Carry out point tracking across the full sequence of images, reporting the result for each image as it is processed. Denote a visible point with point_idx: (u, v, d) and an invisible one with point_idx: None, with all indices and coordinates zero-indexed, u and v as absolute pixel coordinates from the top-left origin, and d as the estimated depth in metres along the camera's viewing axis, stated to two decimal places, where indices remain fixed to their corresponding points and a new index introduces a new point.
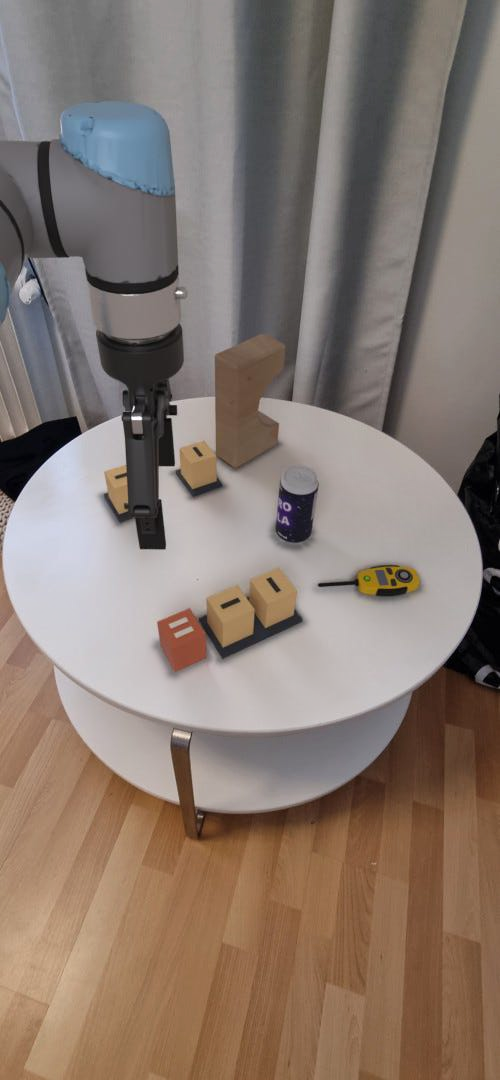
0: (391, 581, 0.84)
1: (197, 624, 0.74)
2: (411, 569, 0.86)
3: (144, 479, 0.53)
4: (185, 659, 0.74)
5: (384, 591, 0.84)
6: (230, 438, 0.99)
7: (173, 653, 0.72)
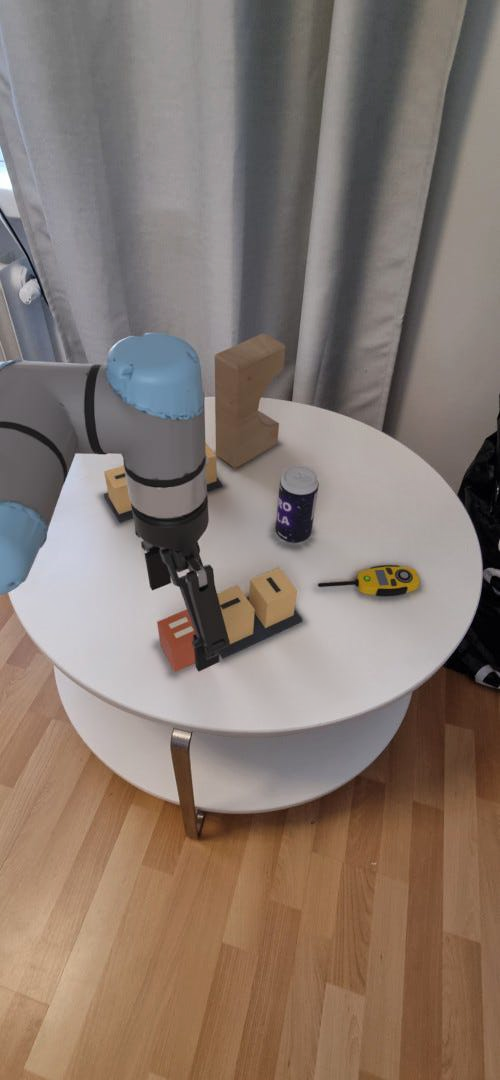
0: (391, 581, 0.84)
1: None
2: (411, 569, 0.86)
3: (215, 619, 0.60)
4: (185, 659, 0.74)
5: (384, 591, 0.84)
6: (230, 438, 0.99)
7: (173, 653, 0.72)
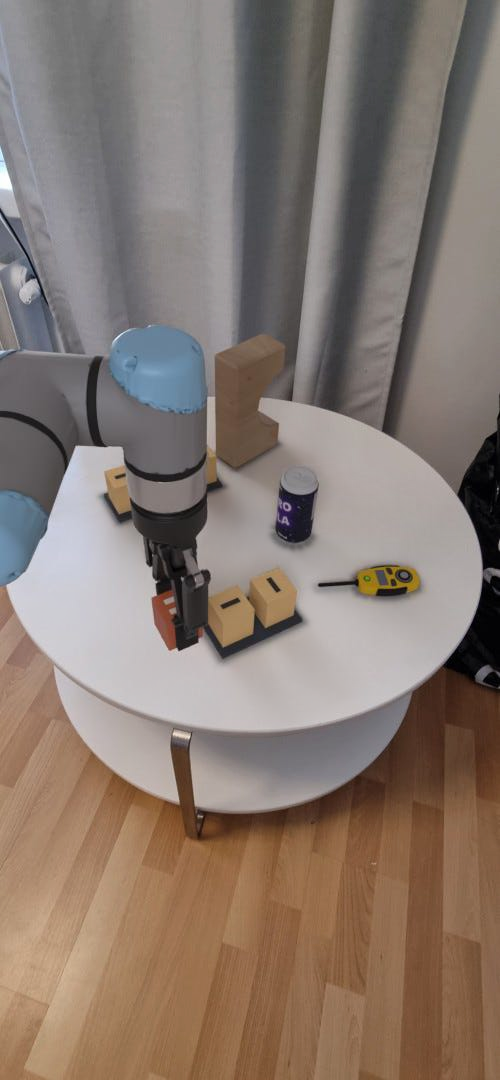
0: (391, 581, 0.84)
1: None
2: (411, 569, 0.86)
3: (201, 609, 0.62)
4: None
5: (384, 591, 0.84)
6: (230, 438, 0.99)
7: (168, 630, 0.68)
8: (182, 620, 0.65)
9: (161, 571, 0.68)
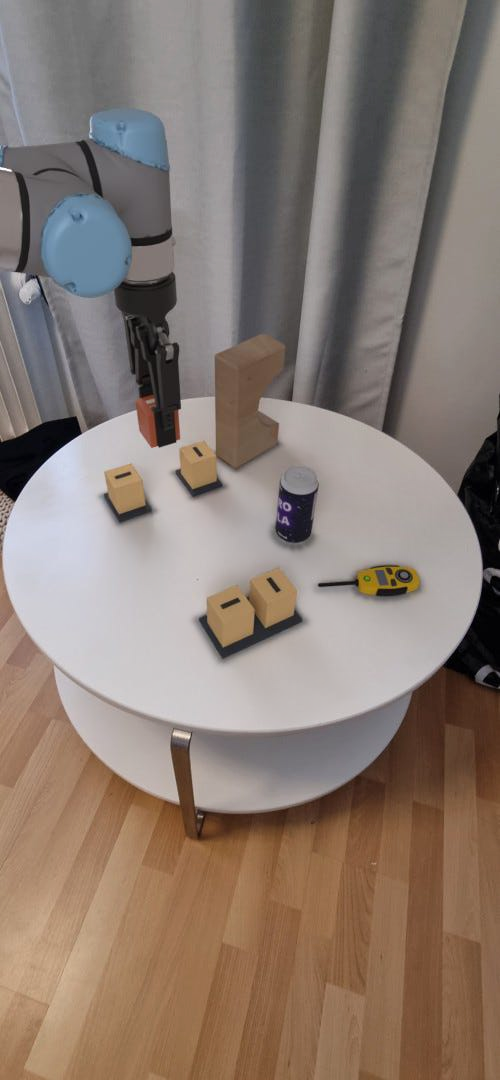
0: (391, 581, 0.84)
1: None
2: (411, 569, 0.86)
3: (174, 388, 0.75)
4: None
5: (384, 591, 0.84)
6: (230, 438, 0.99)
7: (149, 422, 0.81)
8: (159, 405, 0.78)
9: (142, 372, 0.81)
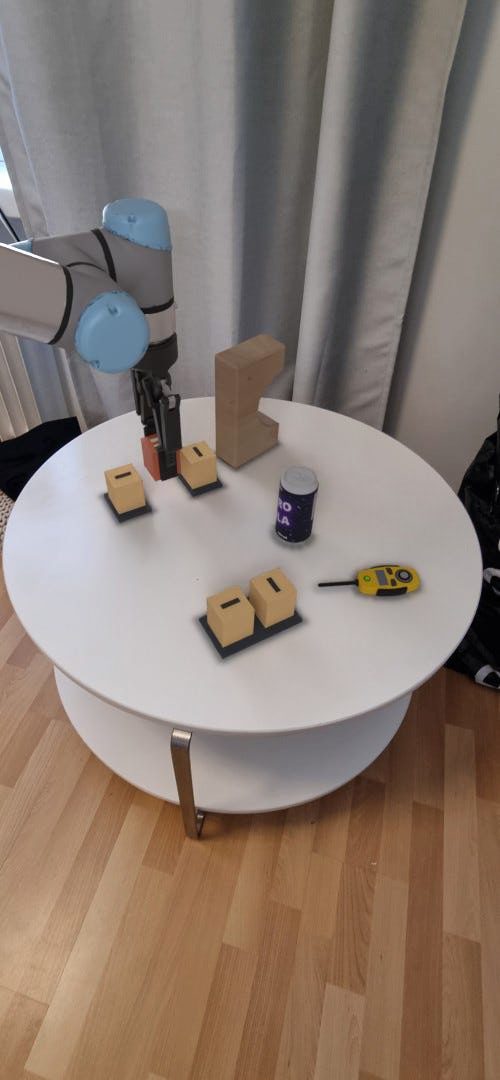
0: (391, 581, 0.84)
1: None
2: (411, 569, 0.86)
3: (175, 431, 0.84)
4: None
5: (384, 591, 0.84)
6: (230, 438, 0.99)
7: (153, 459, 0.90)
8: (162, 446, 0.87)
9: (147, 415, 0.90)
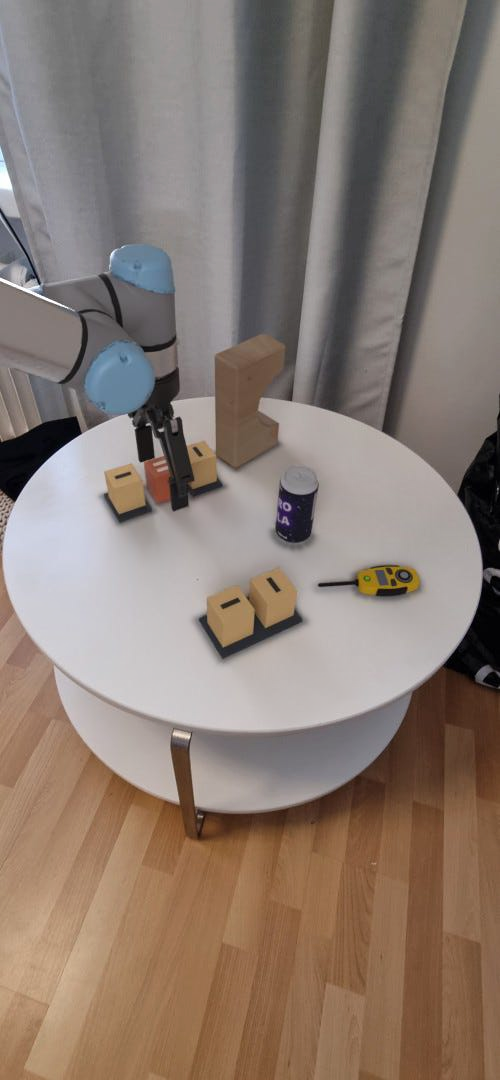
0: (391, 581, 0.84)
1: None
2: (411, 569, 0.86)
3: (184, 459, 0.84)
4: (165, 492, 0.96)
5: (384, 591, 0.84)
6: (230, 438, 0.99)
7: (156, 483, 0.93)
8: (174, 476, 0.86)
9: (140, 422, 0.94)
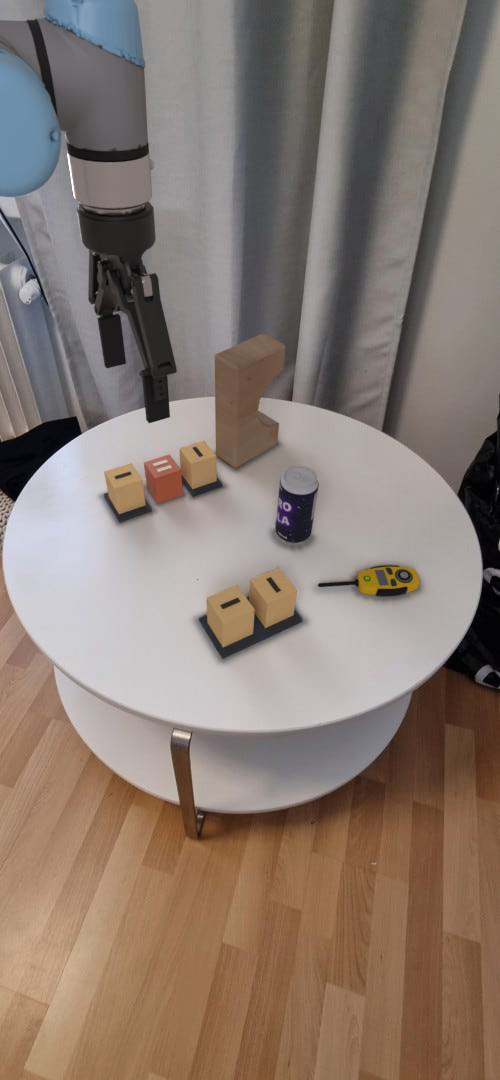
0: (391, 581, 0.84)
1: (175, 464, 0.95)
2: (411, 569, 0.86)
3: (161, 338, 0.60)
4: (165, 492, 0.96)
5: (384, 591, 0.84)
6: (230, 438, 0.99)
7: (156, 483, 0.93)
8: (148, 365, 0.62)
9: (104, 307, 0.70)
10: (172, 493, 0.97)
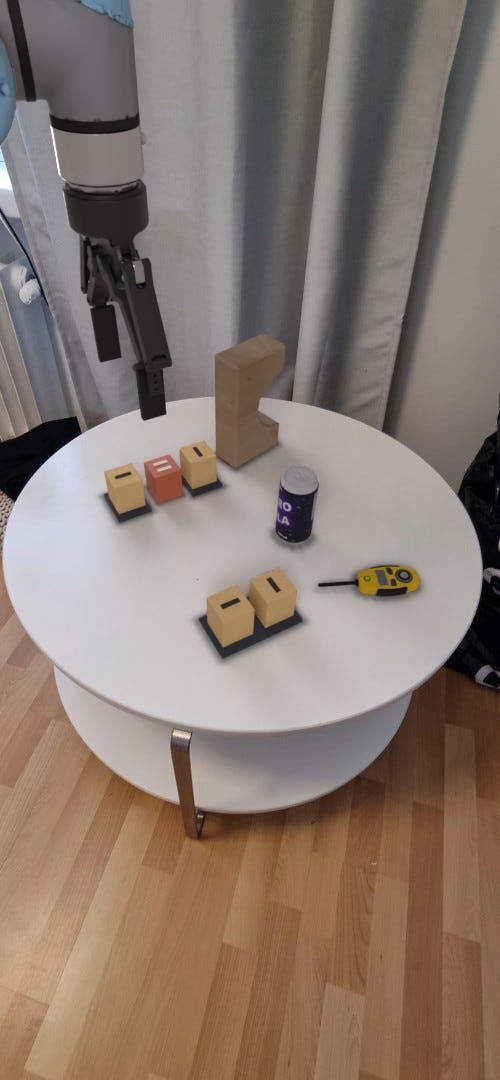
0: (391, 581, 0.84)
1: (175, 464, 0.95)
2: (411, 569, 0.86)
3: (155, 328, 0.56)
4: (165, 492, 0.96)
5: (384, 591, 0.84)
6: (230, 438, 0.99)
7: (156, 483, 0.93)
8: (141, 358, 0.58)
9: (97, 296, 0.66)
10: (172, 493, 0.97)
